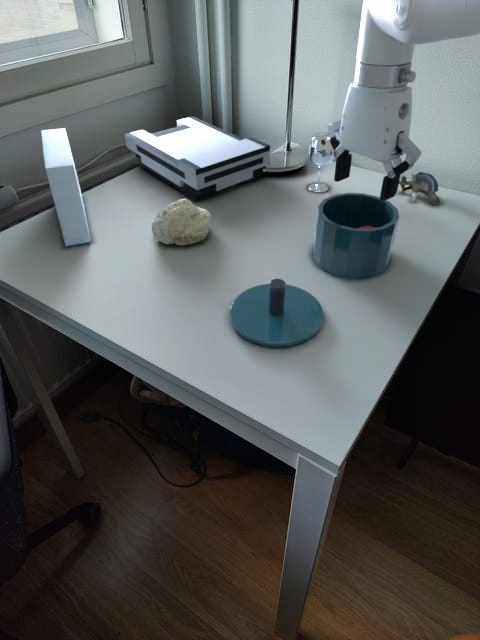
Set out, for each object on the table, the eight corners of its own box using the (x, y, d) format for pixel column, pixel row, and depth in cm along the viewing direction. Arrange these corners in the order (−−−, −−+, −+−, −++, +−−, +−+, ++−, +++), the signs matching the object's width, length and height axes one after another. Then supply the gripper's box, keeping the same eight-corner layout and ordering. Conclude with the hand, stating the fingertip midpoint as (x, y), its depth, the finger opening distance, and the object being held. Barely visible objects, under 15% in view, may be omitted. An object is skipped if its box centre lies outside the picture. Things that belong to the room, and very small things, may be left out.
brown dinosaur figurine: (392, 198, 101) (435, 200, 96) (399, 164, 100) (442, 165, 95) (401, 204, 107) (442, 207, 102) (408, 172, 106) (449, 174, 101)
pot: (403, 259, 85) (415, 212, 79) (353, 288, 79) (362, 240, 73) (347, 230, 93) (354, 186, 87) (298, 254, 87) (302, 208, 81)
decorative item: (182, 243, 83) (144, 207, 84) (177, 269, 91) (143, 236, 92) (228, 210, 88) (191, 178, 90) (219, 238, 96) (186, 207, 98)
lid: (341, 321, 73) (347, 287, 68) (271, 364, 66) (273, 329, 62) (279, 278, 81) (281, 246, 77) (212, 312, 75) (209, 279, 70)
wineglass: (313, 180, 111) (318, 129, 103) (335, 186, 108) (341, 134, 100) (301, 189, 107) (305, 137, 99) (323, 195, 105) (329, 142, 97)
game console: (194, 141, 131) (192, 111, 125) (269, 179, 112) (270, 145, 106) (129, 161, 121) (123, 129, 116) (198, 205, 102) (195, 169, 97)
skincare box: (94, 242, 91) (73, 164, 81) (65, 247, 90) (41, 169, 80) (83, 196, 106) (64, 125, 96) (58, 201, 105) (37, 129, 94)
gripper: (451, 80, 62) (421, 199, 73) (352, 61, 73) (340, 167, 84) (417, 91, 59) (391, 214, 70) (318, 69, 69) (310, 178, 80)
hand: (363, 188), depth 77 cm, fingers open, 9 cm apart
